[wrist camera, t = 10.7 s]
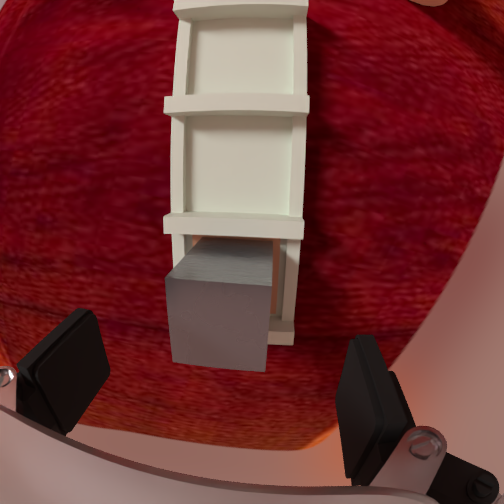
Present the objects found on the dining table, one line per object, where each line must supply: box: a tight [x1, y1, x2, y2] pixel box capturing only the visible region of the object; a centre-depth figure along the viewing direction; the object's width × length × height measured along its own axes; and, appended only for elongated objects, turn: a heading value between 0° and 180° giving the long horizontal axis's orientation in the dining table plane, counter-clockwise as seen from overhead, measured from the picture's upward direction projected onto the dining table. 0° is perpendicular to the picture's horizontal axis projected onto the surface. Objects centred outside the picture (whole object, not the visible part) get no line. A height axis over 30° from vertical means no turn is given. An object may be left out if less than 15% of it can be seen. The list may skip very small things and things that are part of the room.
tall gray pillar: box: [165, 237, 273, 372], centre depth 16 cm, size 4×4×7 cm
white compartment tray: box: [163, 0, 309, 345], centre depth 17 cm, size 8×22×3 cm, turn 178°
